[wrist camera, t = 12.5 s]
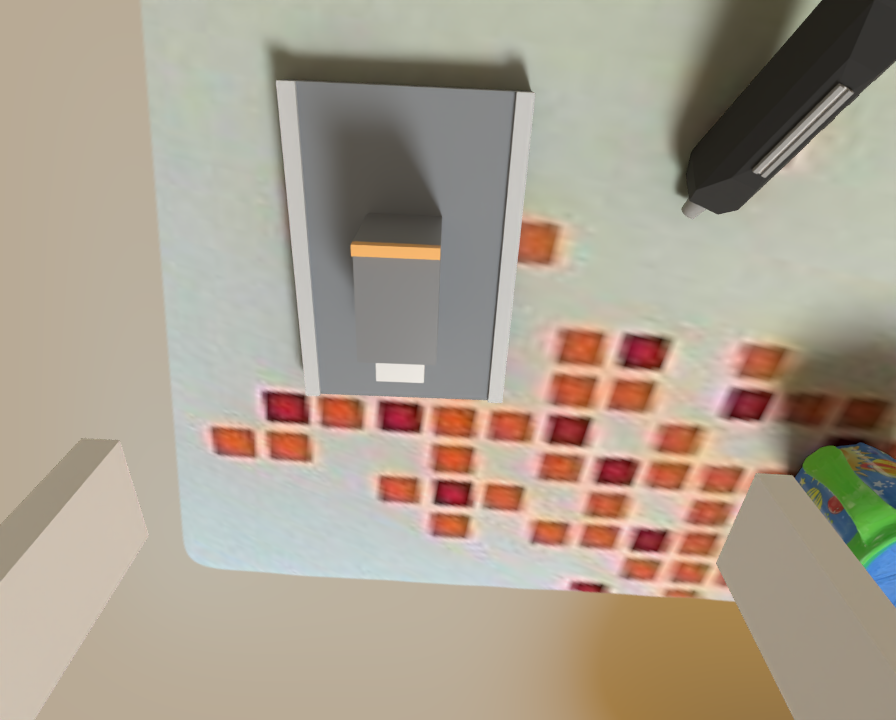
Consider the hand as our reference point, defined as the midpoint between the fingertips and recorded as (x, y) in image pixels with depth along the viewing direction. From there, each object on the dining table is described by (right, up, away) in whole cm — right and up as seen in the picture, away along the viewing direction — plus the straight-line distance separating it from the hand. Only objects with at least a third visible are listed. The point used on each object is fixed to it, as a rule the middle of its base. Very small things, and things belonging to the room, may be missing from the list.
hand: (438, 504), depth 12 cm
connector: (-3, +8, +24) cm, 25 cm away
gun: (+18, +19, +20) cm, 33 cm away
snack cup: (+32, -6, +33) cm, 46 cm away
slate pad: (-2, +10, +24) cm, 26 cm away
